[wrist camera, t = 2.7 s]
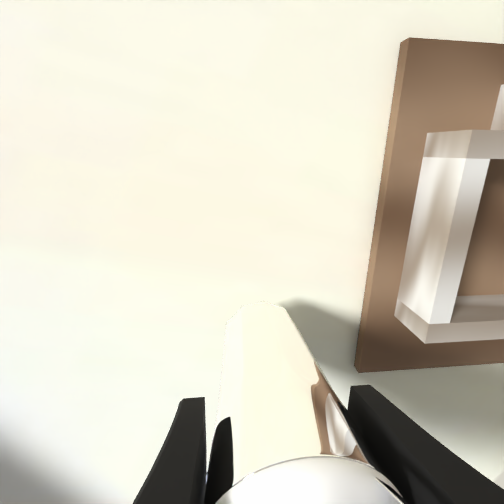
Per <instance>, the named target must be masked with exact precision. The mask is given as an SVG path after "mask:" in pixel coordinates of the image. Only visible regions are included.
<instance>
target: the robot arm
mask: <svg viewBox="0 0 504 504" xmlns="http://www.w3.org/2000/svg"><path fill="white" fill-rule="evenodd" d="M347 411H348V412H349V414H350V416H351V417H352V419H353V420H354V422H355V423H356V425H357V427H358V428H359V430H360V431H361V433H362V434H363V436H364V438H365V439H366V441H367V442H368V444H369V446H370V447H371V449H372V450H373V452H374V454H375V455H376V457H377V458H378V460H379V461H380V463H381V465H382V466H383V468H384V469H385V471H386V473H387V474H388V476H389V477H390V479H391V481H392V482H393V484H394V486H395V487H396V489H397V490H398V491H399V493H400V494H401V496H402V497H403V498H404V499H405V500H406V501H407V502H408V503H409V504H504V489H502V488H501V487H499V486H498V485H496V484H495V483H494V482H492V481H491V480H489V479H488V478H486V477H485V476H484V475H482V474H481V473H480V472H478V471H477V470H476V469H474V468H473V467H472V466H470V465H469V464H467V463H466V462H465V461H463V460H462V459H461V458H459V457H458V456H457V455H455V454H454V453H453V452H451V451H450V450H449V449H448V448H446V447H445V446H444V445H442V444H441V443H440V442H439V441H437V440H436V439H435V438H434V437H432V436H431V435H430V434H429V433H427V432H426V431H425V430H424V429H422V428H421V427H420V426H419V425H418V424H416V423H415V422H414V421H413V420H411V419H410V418H409V417H408V416H407V415H405V414H404V413H403V412H402V411H401V410H399V409H398V408H397V407H396V406H395V405H394V404H392V403H391V402H390V401H389V400H388V399H386V398H385V397H384V396H383V395H382V394H380V393H379V392H378V391H377V390H376V389H374V388H373V387H372V386H370V385H359V386H351V389H350V396H349V403H348V410H347ZM207 475H208V474H206V424H205V397H199V398H186V399H183V400H182V401H180V403H179V406H178V409H177V412H176V415H175V418H174V420H173V423H172V425H171V428H170V430H169V433H168V435H167V437H166V439H165V442H164V444H163V446H162V448H161V450H160V452H159V454H158V456H157V458H156V460H155V463H154V465H153V467H152V469H151V471H150V473H149V475H148V476H147V478H146V480H145V482H144V484H143V486H142V487H141V489H140V491H139V493H138V495H137V497H136V498H135V500H134V502H133V504H204V496H205V489H206V482H207Z"/></svg>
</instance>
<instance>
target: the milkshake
mask: <svg viewBox="0 0 504 504" xmlns="http://www.w3.org/2000/svg"><path fill="white" fill-rule="evenodd" d="M204 504H409V503H408V502H407V501H406V500H405V499H404V498H403V497H402V496H401V494H400V493H399V491H398V490H397V489H396V487H395V486H394V484H393V482H392V481H391V479H390V477H389V476H388V474H387V473H386V471H385V469H384V468H383V466H382V465H381V463H380V461H379V460H378V458H377V457H376V455H375V454H374V452H373V450H372V449H371V447H370V446H369V444H368V442H367V441H366V439H365V438H364V436H363V434H362V433H361V431H360V430H359V428H358V427H357V425H356V423H355V422H354V420H353V419H352V417H351V416H350V414H349V412H348V411H347V409H346V408H345V406H344V405H343V403H342V402H341V401H340V399H339V398H338V397H337V395H336V394H335V392H334V390H333V389H332V387H331V385H330V384H329V382H328V380H327V378H326V377H325V375H324V373H323V371H322V370H321V368H320V366H319V364H318V363H317V361H316V359H315V358H314V356H313V354H312V352H311V351H310V349H309V347H308V345H307V344H306V342H305V340H304V338H303V337H302V335H301V333H300V331H299V330H298V328H297V326H296V325H295V323H294V322H293V320H292V319H291V317H290V316H289V314H288V313H287V311H286V309H285V308H283V307H280V306H277V305H274V304H271V303H268V302H265V301H261V302H258V303H254V304H250V305H246V306H242V307H241V308H240V309H239V310H238V311H237V312H236V313H235V314H234V315H233V316H232V318H231V319H230V320H229V321H228V322H227V323H226V330H225V341H224V351H223V362H222V372H221V382H220V392H219V401H218V409H217V416H216V422H215V428H214V434H213V440H212V447H211V454H210V461H209V468H208V475H207V482H206V489H205V496H204Z"/></svg>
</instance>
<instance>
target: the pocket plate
mask: <svg viewBox="0 0 504 504" xmlns="http://www.w3.org/2000/svg"><path fill="white" fill-rule="evenodd" d="M492 363H504V44H496V43H482V42H467V41H452V40H438V39H423V38H408V39H406V40H404V41H402V42H401V44H400V51H399V58H398V65H397V72H396V79H395V86H394V93H393V100H392V106H391V113H390V120H389V127H388V134H387V141H386V148H385V155H384V162H383V169H382V176H381V183H380V190H379V197H378V204H377V210H376V217H375V224H374V231H373V238H372V245H371V252H370V259H369V266H368V273H367V280H366V287H365V294H364V301H363V308H362V315H361V321H360V328H359V335H358V342H357V349H356V356H355V363H354V366H355V368H356V369H357V371H358V372H359V373H363V372H377V371H392V370H406V369H420V368H435V367H449V366H463V365H478V364H492Z"/></svg>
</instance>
